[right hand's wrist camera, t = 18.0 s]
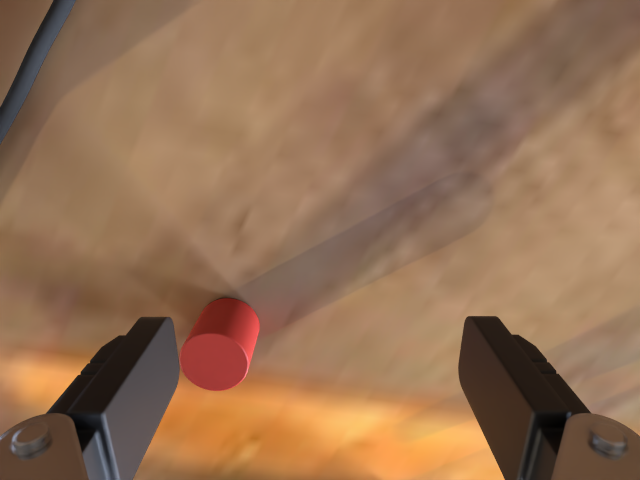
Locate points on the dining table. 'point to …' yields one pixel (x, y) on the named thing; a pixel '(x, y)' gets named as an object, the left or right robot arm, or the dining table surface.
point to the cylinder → (220, 345)
